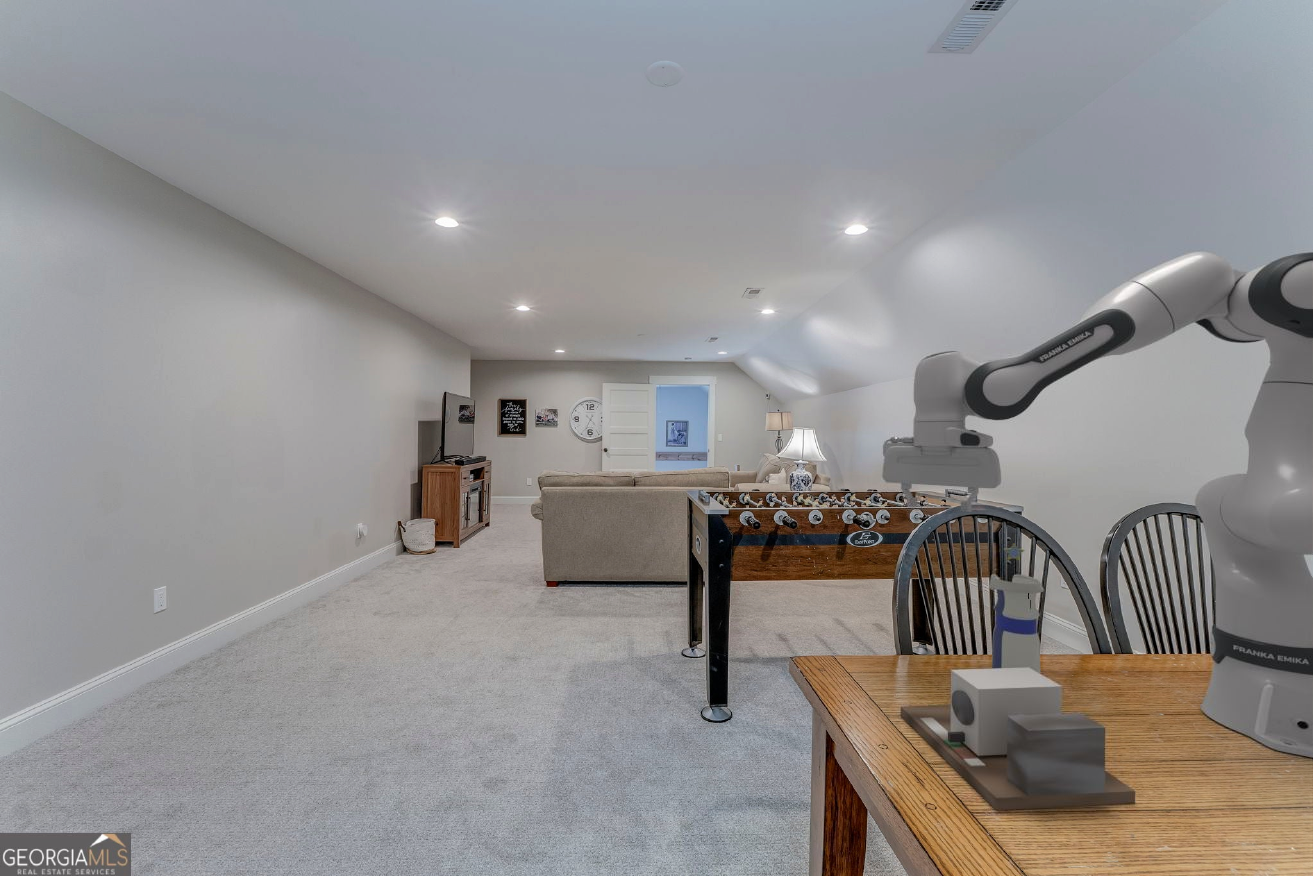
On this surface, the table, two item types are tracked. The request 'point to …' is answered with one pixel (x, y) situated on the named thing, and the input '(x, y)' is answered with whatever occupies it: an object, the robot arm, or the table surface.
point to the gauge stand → (1030, 760)
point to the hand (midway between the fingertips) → (938, 509)
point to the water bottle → (1016, 620)
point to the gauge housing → (997, 704)
